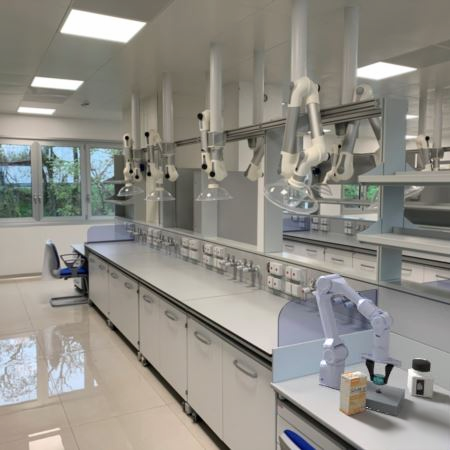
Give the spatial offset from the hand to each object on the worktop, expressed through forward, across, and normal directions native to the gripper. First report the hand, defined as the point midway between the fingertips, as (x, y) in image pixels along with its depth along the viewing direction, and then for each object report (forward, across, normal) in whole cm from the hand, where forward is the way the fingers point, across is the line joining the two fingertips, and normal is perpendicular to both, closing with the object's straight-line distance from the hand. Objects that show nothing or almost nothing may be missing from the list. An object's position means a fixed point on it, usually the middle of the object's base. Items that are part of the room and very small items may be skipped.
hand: (378, 381), depth 163 cm
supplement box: (+8, -6, -13) cm, 16 cm away
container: (+8, +12, +17) cm, 22 cm away
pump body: (+7, 0, 0) cm, 7 cm away
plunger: (+4, 0, 0) cm, 4 cm away
